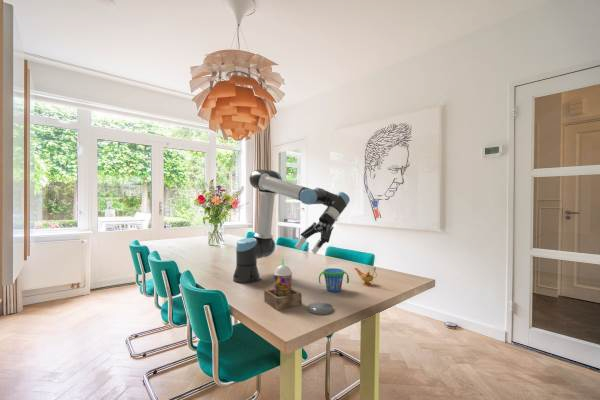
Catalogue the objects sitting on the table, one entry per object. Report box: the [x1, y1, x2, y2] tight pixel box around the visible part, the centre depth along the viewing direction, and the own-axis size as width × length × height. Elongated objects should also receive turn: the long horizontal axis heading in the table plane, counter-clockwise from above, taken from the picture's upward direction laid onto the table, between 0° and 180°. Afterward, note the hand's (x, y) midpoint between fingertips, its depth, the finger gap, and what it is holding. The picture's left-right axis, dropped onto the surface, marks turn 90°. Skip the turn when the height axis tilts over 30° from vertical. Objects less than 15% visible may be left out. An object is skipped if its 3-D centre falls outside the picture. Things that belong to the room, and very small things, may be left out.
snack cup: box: [318, 267, 350, 293], centre depth 145 cm, size 16×10×10 cm
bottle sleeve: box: [263, 287, 303, 311], centre depth 127 cm, size 12×12×5 cm
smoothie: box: [273, 258, 293, 297], centre depth 127 cm, size 8×8×20 cm
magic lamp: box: [354, 266, 378, 287], centre depth 156 cm, size 7×18×11 cm, turn 29°
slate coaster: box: [307, 301, 334, 316], centre depth 119 cm, size 11×11×1 cm
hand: (304, 250), depth 133 cm, fingers open, 13 cm apart
